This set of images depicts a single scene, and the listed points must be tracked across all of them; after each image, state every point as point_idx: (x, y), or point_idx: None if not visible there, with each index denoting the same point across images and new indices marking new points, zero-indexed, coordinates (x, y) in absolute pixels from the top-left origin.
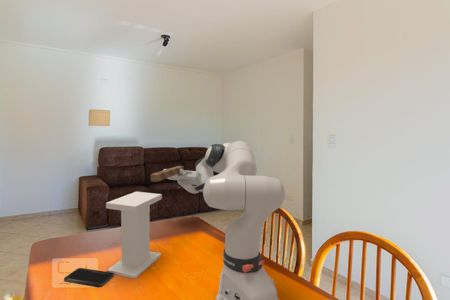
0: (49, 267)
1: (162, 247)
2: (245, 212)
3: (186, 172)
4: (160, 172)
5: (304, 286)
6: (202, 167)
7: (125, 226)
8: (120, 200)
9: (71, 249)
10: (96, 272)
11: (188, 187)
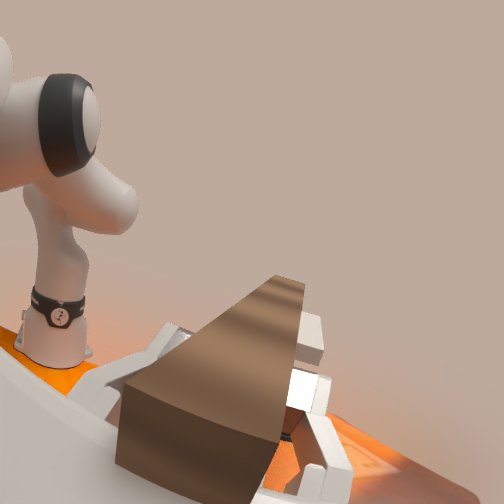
0: (375, 452)
1: None
2: (63, 231)
3: (74, 401)
4: (286, 286)
5: None
6: None
7: None
8: (303, 317)
9: (405, 495)
10: (288, 436)
11: None
